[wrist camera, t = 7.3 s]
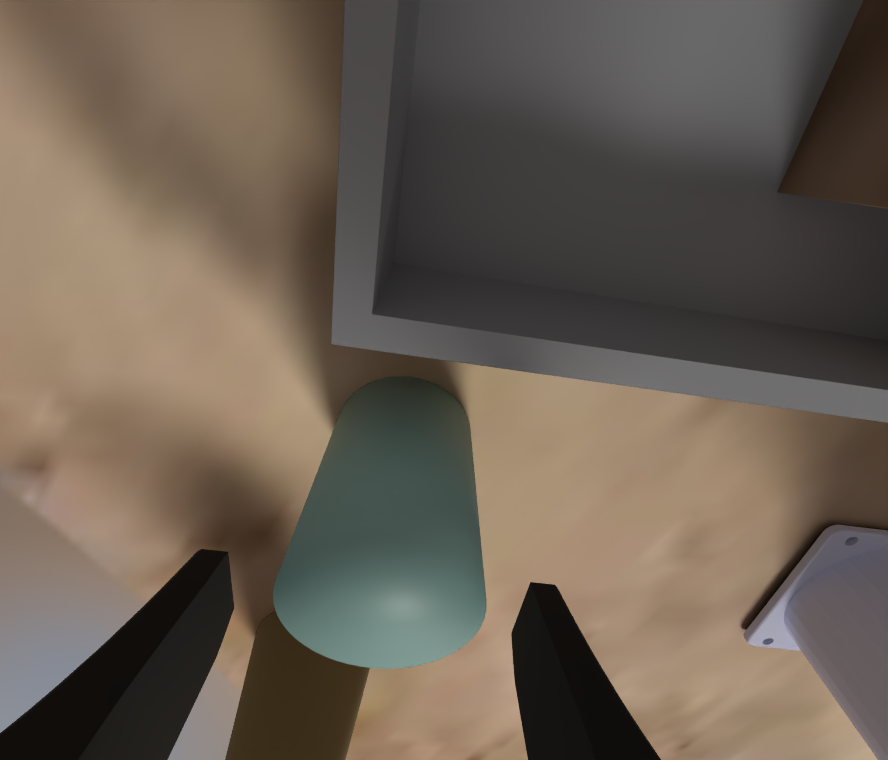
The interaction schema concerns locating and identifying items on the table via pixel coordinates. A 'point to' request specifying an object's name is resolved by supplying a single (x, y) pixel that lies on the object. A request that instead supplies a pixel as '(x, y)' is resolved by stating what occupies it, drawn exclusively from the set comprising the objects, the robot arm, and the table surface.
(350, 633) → the teal cylinder
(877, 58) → the walnut cube
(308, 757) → the cork
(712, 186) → the tote
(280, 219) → the table surface
